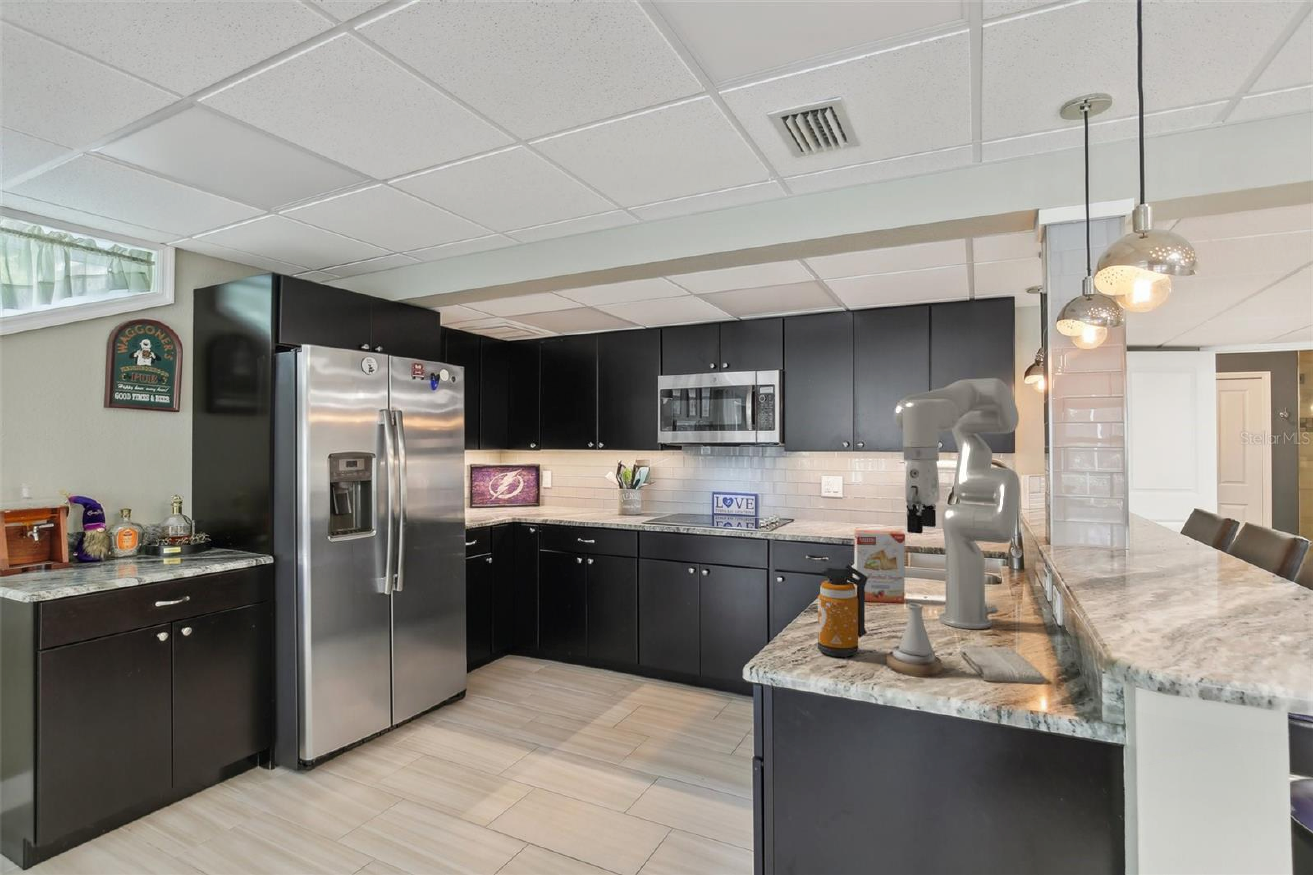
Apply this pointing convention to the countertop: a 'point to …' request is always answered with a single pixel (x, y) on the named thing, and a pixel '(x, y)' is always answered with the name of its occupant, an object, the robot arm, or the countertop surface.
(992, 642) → the countertop surface
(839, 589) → the canister
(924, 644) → the flask
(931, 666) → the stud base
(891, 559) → the cracker box
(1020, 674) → the washcloth
